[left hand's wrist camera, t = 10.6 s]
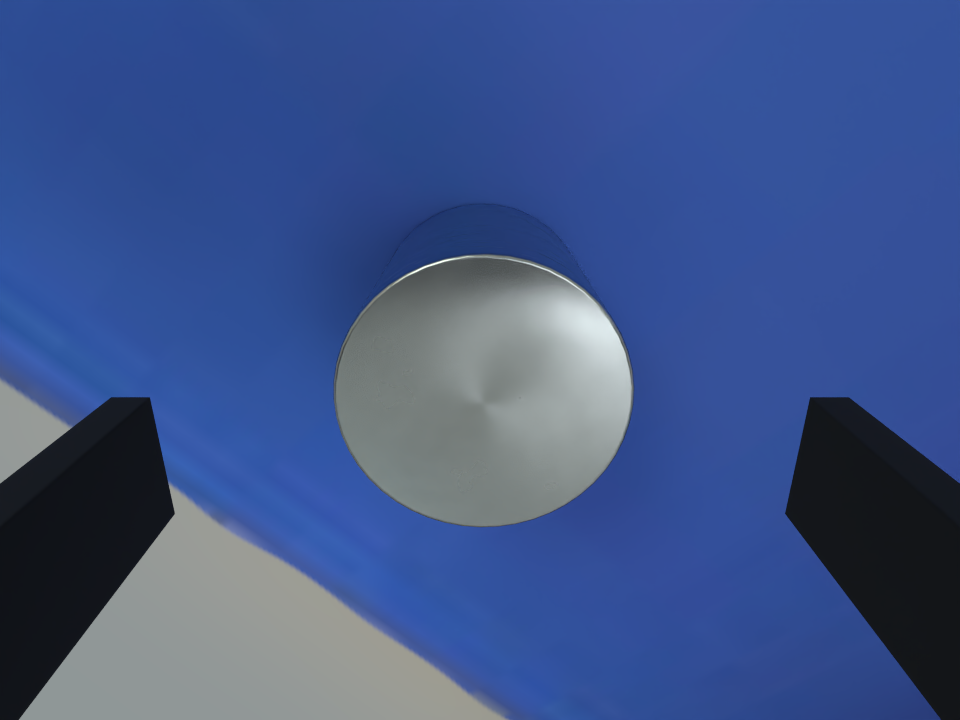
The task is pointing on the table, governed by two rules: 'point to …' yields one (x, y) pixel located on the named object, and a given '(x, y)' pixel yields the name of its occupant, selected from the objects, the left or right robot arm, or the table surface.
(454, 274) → the can
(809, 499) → the left robot arm
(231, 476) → the table surface
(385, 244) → the table surface
